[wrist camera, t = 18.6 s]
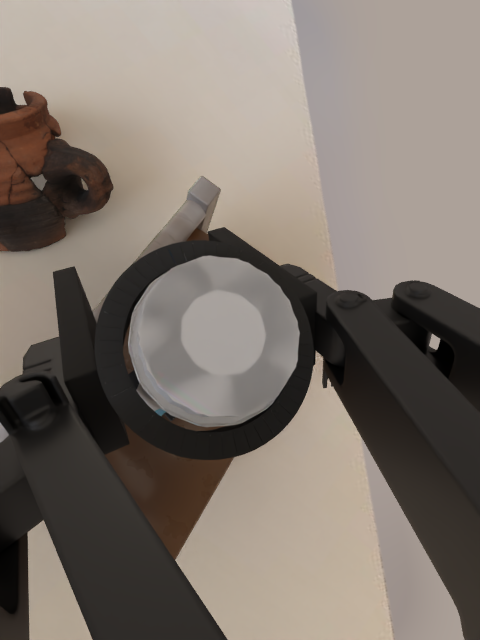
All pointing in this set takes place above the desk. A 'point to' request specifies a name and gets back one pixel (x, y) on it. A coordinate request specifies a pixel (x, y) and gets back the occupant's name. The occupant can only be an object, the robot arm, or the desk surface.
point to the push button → (204, 349)
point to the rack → (145, 459)
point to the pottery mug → (57, 168)
